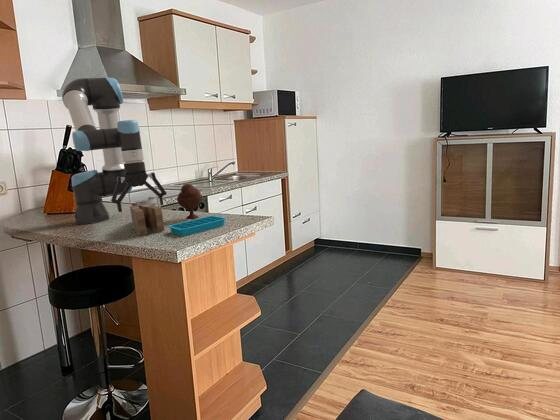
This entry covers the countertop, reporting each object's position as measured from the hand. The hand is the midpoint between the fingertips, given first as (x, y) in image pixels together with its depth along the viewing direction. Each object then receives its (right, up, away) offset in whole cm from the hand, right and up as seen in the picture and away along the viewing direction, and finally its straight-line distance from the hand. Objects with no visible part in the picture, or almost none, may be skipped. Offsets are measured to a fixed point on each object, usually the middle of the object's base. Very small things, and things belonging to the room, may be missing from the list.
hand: (142, 217), depth 164 cm
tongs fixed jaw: (-2, -6, +5) cm, 8 cm away
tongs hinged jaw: (+2, -5, +6) cm, 8 cm away
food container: (-3, -3, +22) cm, 23 cm away
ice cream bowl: (+15, -1, +21) cm, 26 cm away
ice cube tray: (+22, -5, -1) cm, 22 cm away
